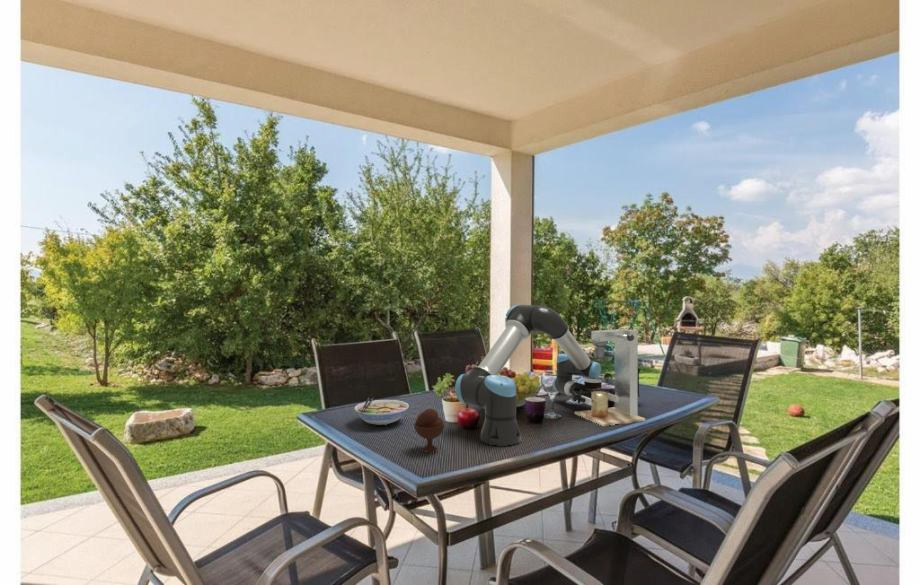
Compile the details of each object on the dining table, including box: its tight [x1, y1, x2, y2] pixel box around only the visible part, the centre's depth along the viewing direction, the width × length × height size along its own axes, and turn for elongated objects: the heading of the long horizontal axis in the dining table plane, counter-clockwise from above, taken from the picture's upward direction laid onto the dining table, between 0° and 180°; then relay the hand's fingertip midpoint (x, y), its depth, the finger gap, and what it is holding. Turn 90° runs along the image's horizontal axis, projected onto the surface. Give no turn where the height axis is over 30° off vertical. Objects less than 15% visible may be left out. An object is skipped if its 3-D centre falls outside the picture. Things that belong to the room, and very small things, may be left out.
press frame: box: [590, 328, 639, 416], centre depth 201 cm, size 19×16×37 cm
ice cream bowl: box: [413, 408, 446, 452], centre depth 164 cm, size 11×11×15 cm
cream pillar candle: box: [590, 390, 609, 418], centre depth 202 cm, size 7×7×10 cm
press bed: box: [574, 406, 647, 427], centre depth 204 cm, size 22×20×1 cm
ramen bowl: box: [354, 396, 410, 426], centre depth 197 cm, size 25×23×8 cm
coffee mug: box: [582, 378, 603, 398], centre depth 233 cm, size 12×9×10 cm
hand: (604, 400), depth 199 cm, fingers open, 13 cm apart
